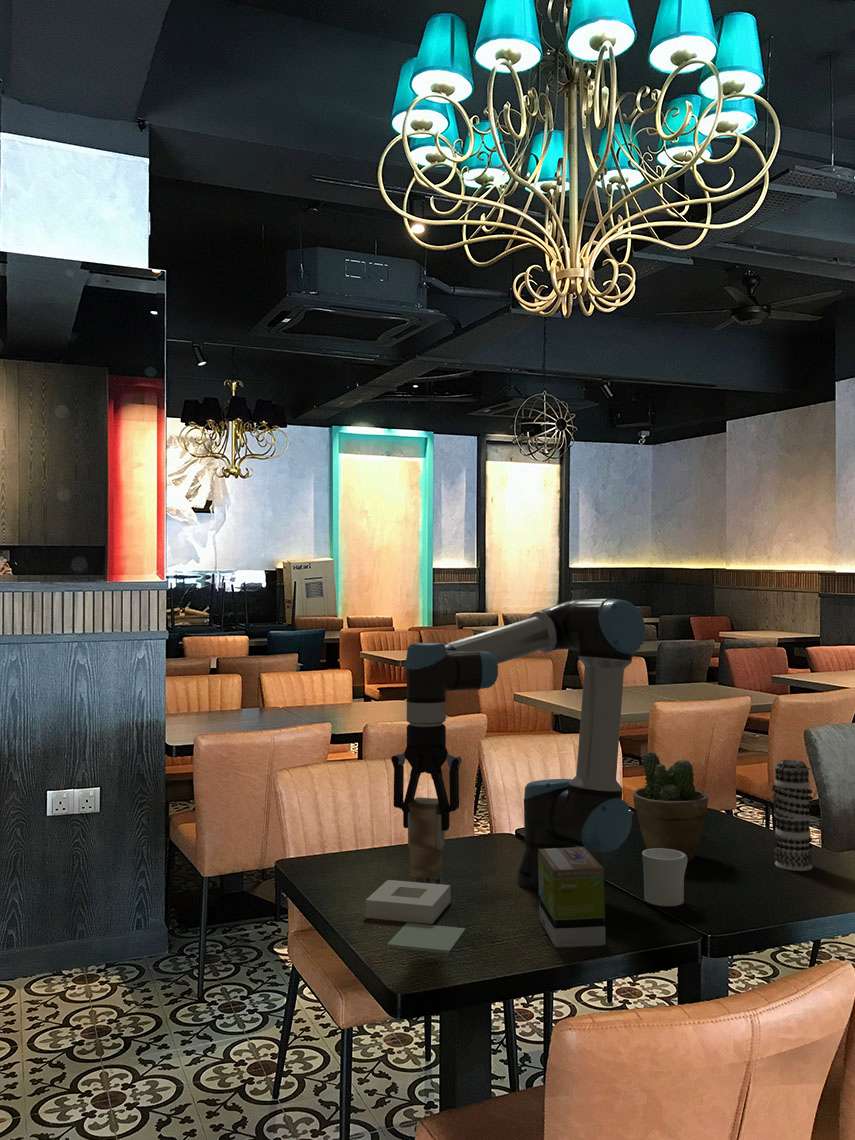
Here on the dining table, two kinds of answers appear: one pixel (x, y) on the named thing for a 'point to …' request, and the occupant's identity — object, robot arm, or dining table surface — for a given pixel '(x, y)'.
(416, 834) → the brown tall block
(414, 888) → the white square platform
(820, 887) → the dining table surface
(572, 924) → the tea box
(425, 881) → the stone
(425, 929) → the mat
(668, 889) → the mug
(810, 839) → the decorative candle
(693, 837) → the potted plant
